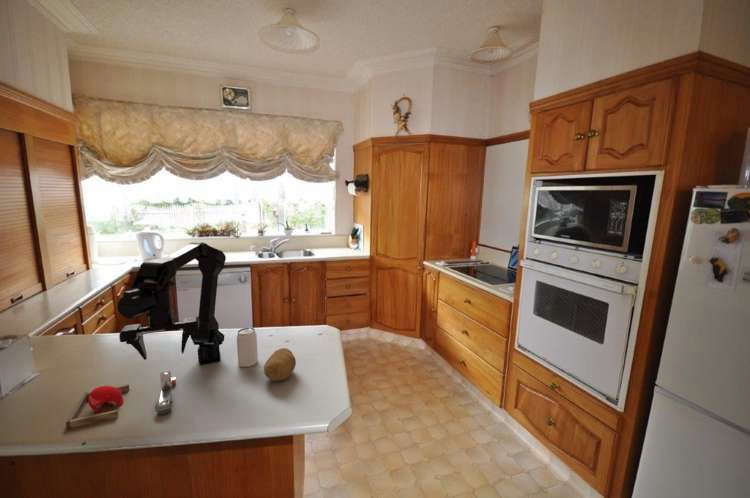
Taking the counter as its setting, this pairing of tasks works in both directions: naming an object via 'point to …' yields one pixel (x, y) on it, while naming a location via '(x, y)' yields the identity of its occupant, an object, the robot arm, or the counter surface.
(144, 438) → the counter surface
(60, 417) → the counter surface
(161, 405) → the crank
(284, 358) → the potato
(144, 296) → the robot arm
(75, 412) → the bay
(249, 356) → the can
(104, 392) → the cap
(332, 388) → the counter surface
